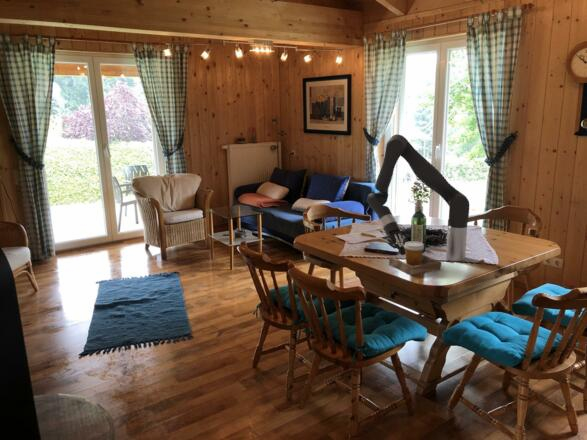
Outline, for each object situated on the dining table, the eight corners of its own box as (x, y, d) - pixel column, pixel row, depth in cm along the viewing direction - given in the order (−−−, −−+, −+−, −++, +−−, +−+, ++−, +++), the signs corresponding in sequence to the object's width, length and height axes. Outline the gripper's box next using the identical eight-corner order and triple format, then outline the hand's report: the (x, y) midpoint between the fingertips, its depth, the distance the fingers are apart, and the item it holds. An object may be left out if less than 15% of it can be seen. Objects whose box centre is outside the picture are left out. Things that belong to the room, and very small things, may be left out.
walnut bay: (389, 264, 230) (389, 257, 229) (416, 259, 237) (416, 252, 236) (411, 275, 215) (412, 267, 214) (440, 269, 222) (441, 261, 221)
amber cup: (426, 266, 227) (427, 242, 224) (419, 271, 220) (420, 247, 217) (407, 262, 233) (408, 239, 230) (400, 268, 225) (400, 244, 222)
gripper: (382, 222, 234) (396, 252, 226) (403, 219, 239) (418, 248, 231) (375, 230, 240) (389, 259, 232) (396, 227, 245) (410, 255, 237)
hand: (404, 254), depth 232 cm, fingers closed
